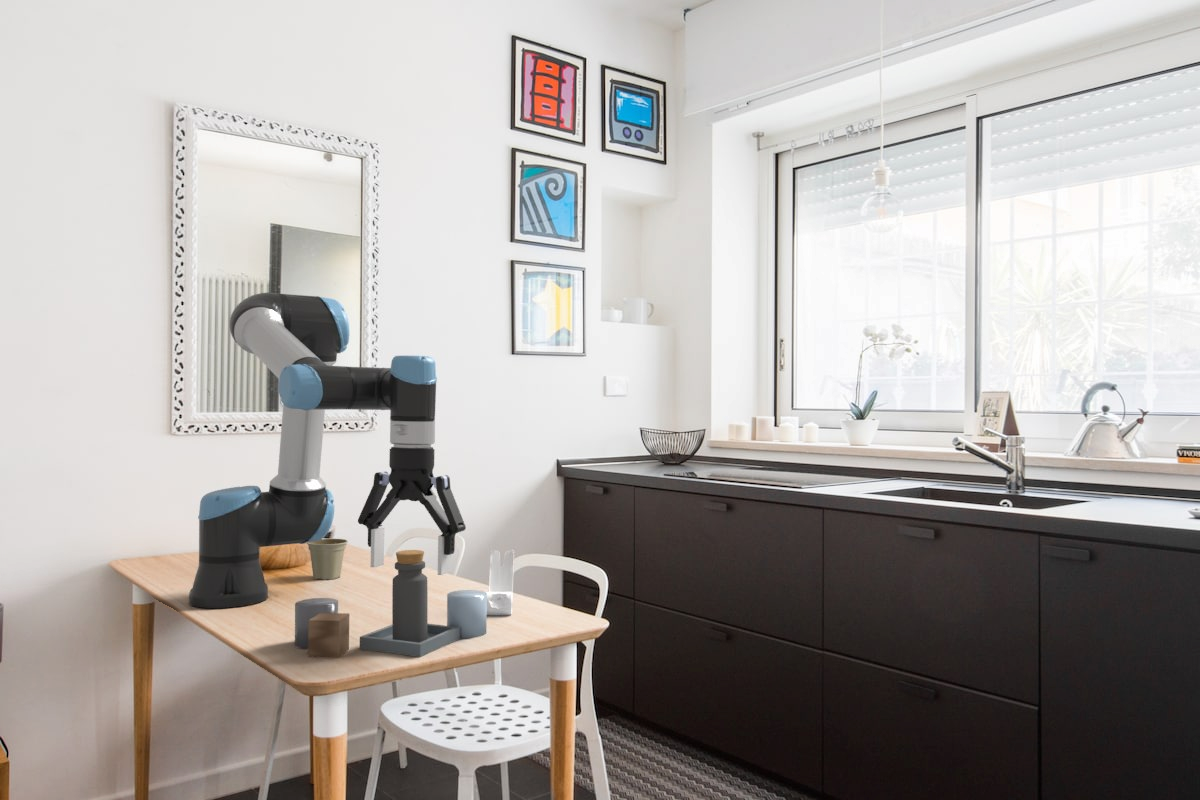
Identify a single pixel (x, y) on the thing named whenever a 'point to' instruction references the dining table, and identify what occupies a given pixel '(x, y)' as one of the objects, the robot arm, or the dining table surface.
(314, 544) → the flower pot
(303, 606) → the gray domed object
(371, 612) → the dining table surface
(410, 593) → the bottle
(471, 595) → the light blue cylinder
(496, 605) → the plastic part
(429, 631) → the tray
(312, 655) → the walnut block
